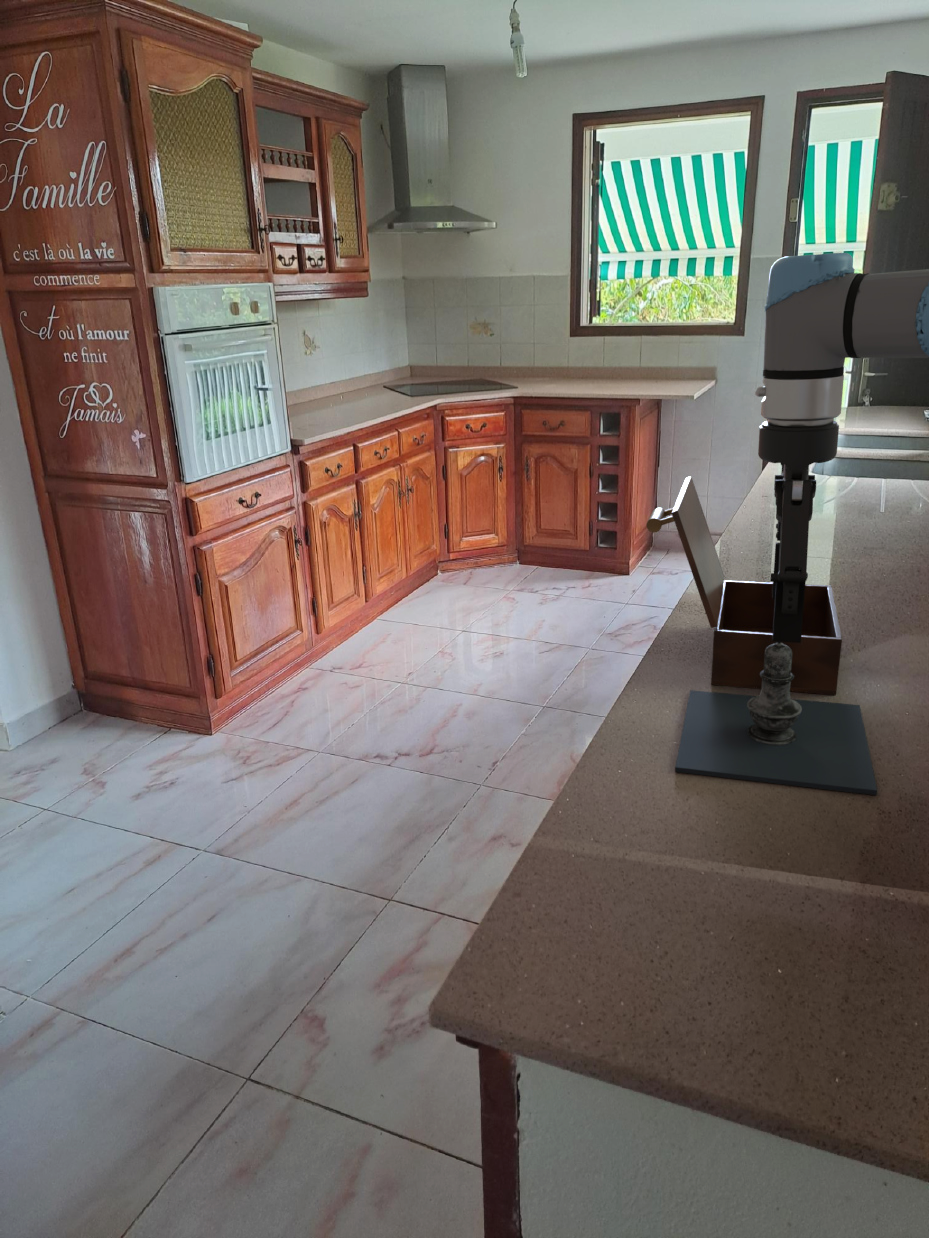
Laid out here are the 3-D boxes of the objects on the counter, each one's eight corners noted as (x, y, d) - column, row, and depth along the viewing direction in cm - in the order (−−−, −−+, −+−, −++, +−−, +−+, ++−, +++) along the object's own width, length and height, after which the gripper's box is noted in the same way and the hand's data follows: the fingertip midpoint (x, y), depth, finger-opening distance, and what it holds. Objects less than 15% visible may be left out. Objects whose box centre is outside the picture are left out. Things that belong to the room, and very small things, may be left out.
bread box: (826, 634, 129) (831, 585, 127) (835, 695, 111) (842, 639, 108) (719, 627, 134) (722, 580, 131) (710, 684, 115) (713, 630, 113)
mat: (859, 709, 107) (859, 704, 107) (876, 795, 89) (877, 790, 89) (689, 694, 113) (690, 689, 113) (675, 772, 95) (675, 767, 95)
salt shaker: (749, 718, 105) (756, 624, 100) (802, 727, 102) (811, 630, 98) (740, 741, 100) (747, 643, 95) (795, 750, 97) (805, 650, 93)
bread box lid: (691, 475, 127) (652, 488, 130) (677, 510, 109) (632, 524, 111) (724, 576, 131) (686, 587, 133) (717, 626, 112) (673, 638, 115)
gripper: (761, 405, 101) (751, 581, 108) (758, 440, 78) (746, 659, 86) (831, 403, 98) (817, 584, 105) (849, 439, 76) (829, 664, 83)
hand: (785, 618), depth 96 cm, fingers open, 13 cm apart
